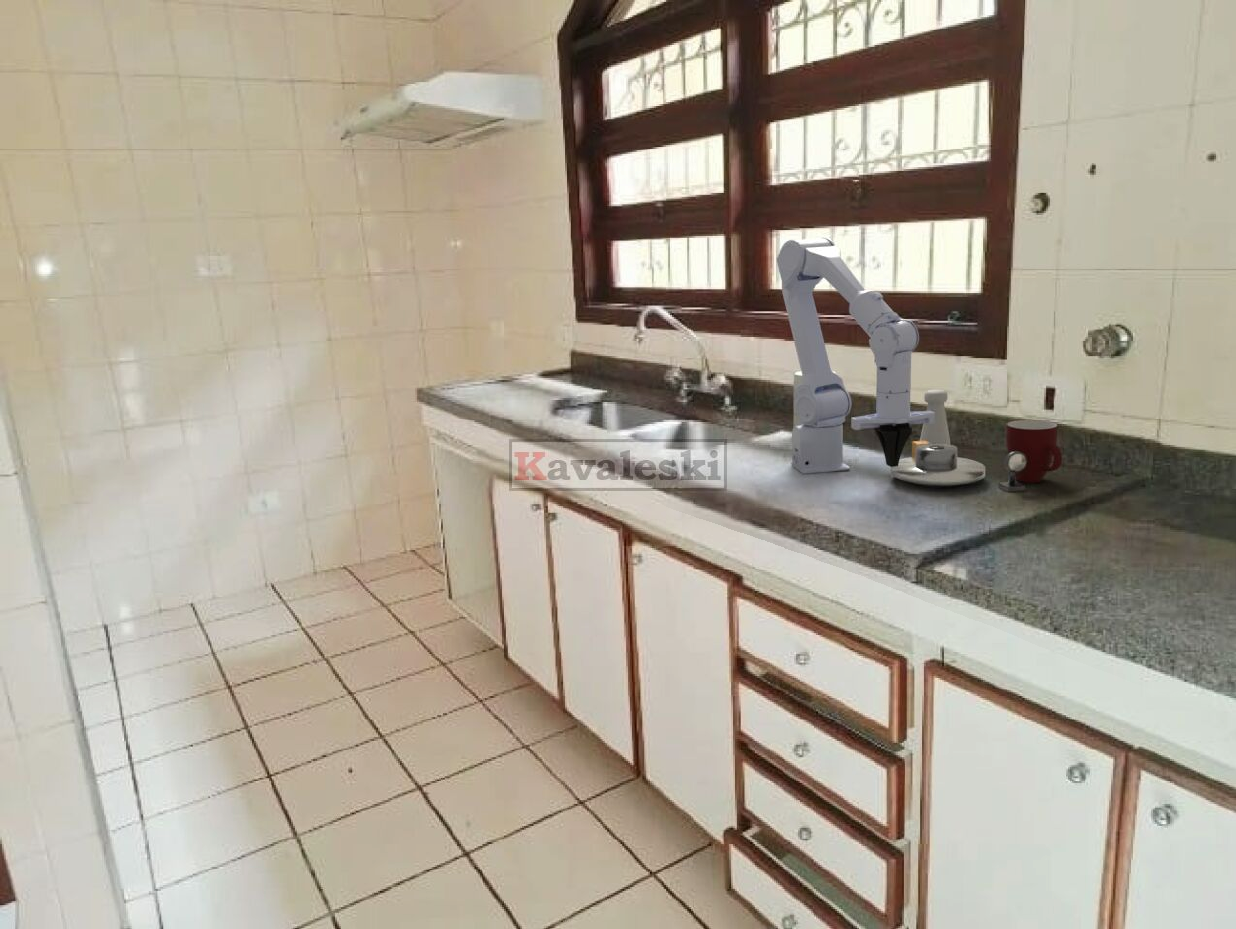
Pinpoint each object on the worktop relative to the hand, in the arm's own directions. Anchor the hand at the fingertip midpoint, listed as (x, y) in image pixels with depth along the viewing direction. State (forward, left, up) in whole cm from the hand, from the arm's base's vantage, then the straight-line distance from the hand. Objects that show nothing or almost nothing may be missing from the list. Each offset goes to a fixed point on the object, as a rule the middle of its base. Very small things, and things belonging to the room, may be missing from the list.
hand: (892, 465), depth 151 cm
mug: (+23, -6, -4) cm, 24 cm away
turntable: (+8, 0, -2) cm, 9 cm away
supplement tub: (-1, +42, -4) cm, 42 cm away
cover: (+8, 0, -1) cm, 8 cm away
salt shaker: (+16, +18, -4) cm, 25 cm away
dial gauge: (+17, -9, -3) cm, 20 cm away
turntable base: (+8, 0, -3) cm, 9 cm away
